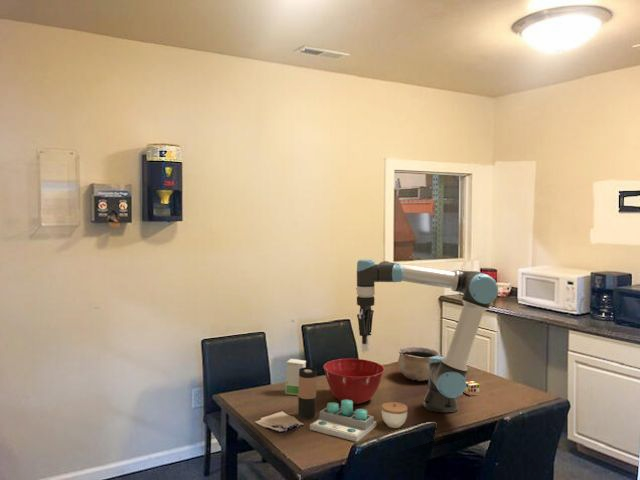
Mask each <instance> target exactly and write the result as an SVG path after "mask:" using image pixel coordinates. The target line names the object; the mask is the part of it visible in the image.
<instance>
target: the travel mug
mask: <svg viewBox="0 0 640 480" xmlns="http://www.w3.org/2000/svg"><path fill="white" fill-rule="evenodd" d="M317 373H318V370H317V369H316V368H314V367H310V366H309V367H304V368H300V369H299V391H298V395H297V397H298V398H297V400H298V403H297V404H298V407H297V409H298V411H297V413H298V418H300V419H303V420H312V419H314V418H315V417H316V407H317V406H316V404H317V382H318V381H317V376H318V375H317Z"/></svg>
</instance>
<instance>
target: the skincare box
mask: <svg viewBox="0 0 640 480" xmlns="http://www.w3.org/2000/svg"><path fill="white" fill-rule="evenodd" d="M306 364H307V360H302V359H296V358H290V359H288V360H287V361H286V371H285V386H284V387H285V389H284V391H285V392H284V393H285V394H286V395H294V396H298V391H299V369H300V368H304V367H306V366H307V365H306Z"/></svg>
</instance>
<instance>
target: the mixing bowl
mask: <svg viewBox="0 0 640 480" xmlns="http://www.w3.org/2000/svg"><path fill="white" fill-rule="evenodd" d="M322 368H323V370H324V374H325V377H326V381H327V384H328V386H329V388H330V391H331V393H332V395H333V396H334V397H335V398H336V399H338V400H339V401H340V402H341V401H342V400H352V401H353V405H361V404H364V403H366V402H368V401H369V400H371V399H372V398H373V397H374V395H375V394H376V392H377V390H378V389H379V386H380V383H381V381H382V378H383V375H384V372H385V367H384V366H383V365H382V364H380V363H378V362H375V361H371V360H368V359H362V358H361V359H360V358H339V359H334V360H333V359H332V360H331V361H330V360H329V361H327V362H326V363H325V364H324V365H323V367H322Z"/></svg>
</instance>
